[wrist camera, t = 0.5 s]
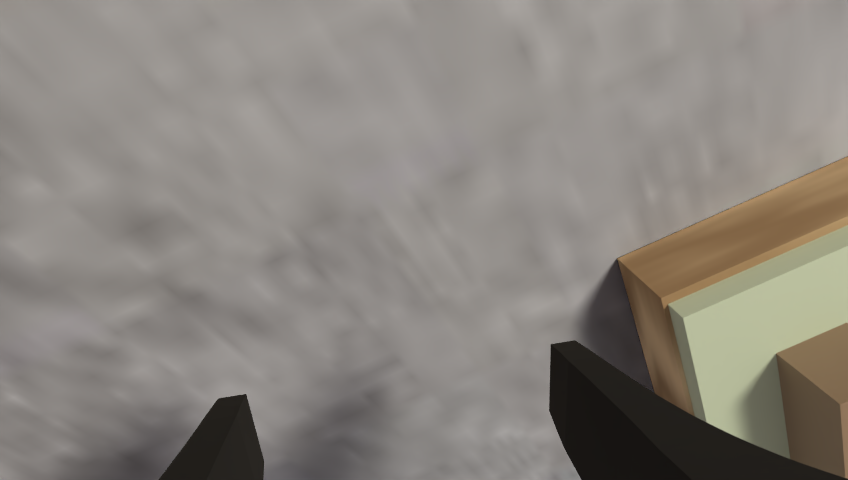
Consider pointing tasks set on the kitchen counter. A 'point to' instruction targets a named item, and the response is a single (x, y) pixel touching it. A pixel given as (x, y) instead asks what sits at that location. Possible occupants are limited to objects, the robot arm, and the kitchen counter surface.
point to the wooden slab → (723, 260)
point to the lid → (774, 353)
